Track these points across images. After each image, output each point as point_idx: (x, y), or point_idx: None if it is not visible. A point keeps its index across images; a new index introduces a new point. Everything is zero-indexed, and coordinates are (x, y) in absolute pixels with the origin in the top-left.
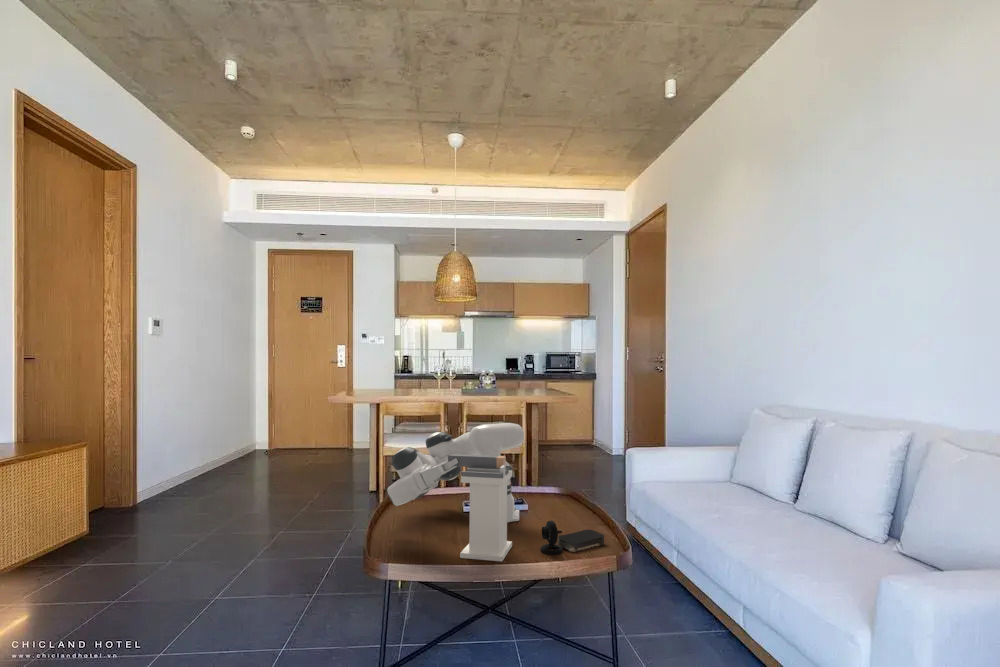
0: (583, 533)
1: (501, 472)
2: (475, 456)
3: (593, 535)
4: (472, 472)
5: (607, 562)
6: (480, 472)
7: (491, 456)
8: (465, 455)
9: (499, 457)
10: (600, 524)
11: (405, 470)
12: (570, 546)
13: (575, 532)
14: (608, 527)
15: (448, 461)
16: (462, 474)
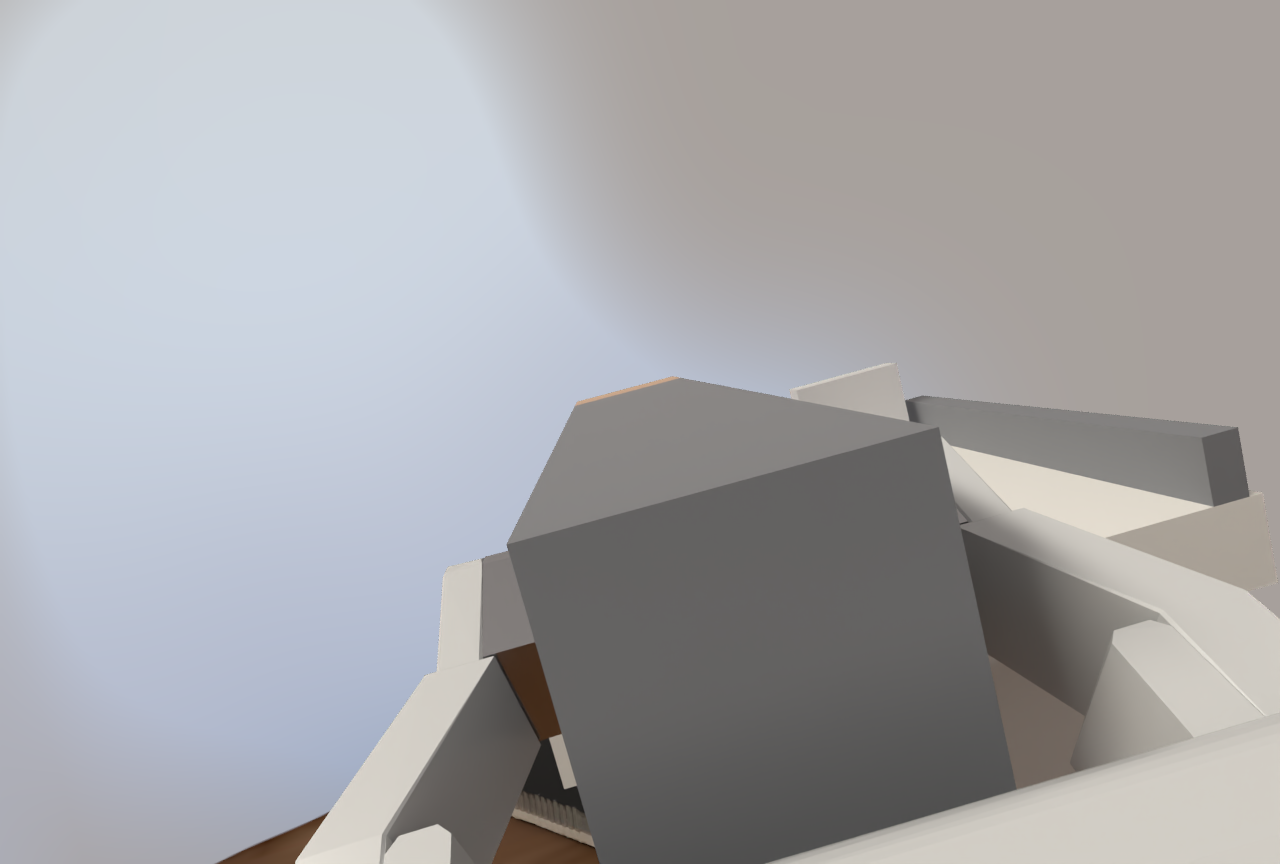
0: (535, 771)
1: (899, 401)
2: (709, 388)
3: (548, 746)
4: (1105, 417)
5: None
6: (1033, 409)
7: (633, 394)
8: (677, 417)
9: (668, 379)
10: (267, 853)
11: None
12: None
13: (532, 792)
14: (322, 817)
15: (977, 653)
16: (1229, 466)
